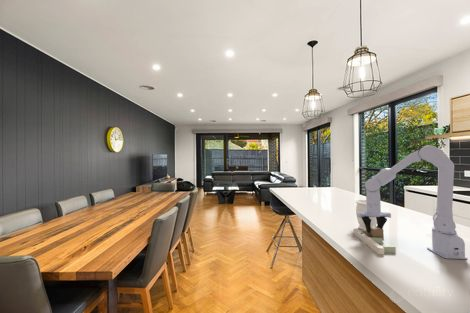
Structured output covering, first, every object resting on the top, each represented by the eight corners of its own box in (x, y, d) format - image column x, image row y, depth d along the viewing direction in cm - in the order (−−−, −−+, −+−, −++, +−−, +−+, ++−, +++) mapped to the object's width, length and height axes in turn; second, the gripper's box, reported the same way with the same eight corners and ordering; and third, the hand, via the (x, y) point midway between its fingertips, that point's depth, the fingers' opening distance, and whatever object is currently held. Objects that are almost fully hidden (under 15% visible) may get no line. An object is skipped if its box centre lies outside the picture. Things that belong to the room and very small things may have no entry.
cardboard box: (383, 240, 100) (383, 229, 100) (373, 240, 100) (372, 229, 101) (376, 235, 106) (375, 225, 107) (366, 235, 107) (366, 224, 107)
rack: (398, 255, 87) (398, 247, 87) (379, 254, 88) (378, 247, 88) (368, 233, 111) (368, 228, 111) (353, 233, 112) (353, 227, 112)
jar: (367, 233, 112) (366, 204, 112) (352, 227, 122) (351, 200, 122) (383, 230, 115) (382, 202, 115) (367, 225, 125) (366, 199, 125)
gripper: (384, 202, 107) (385, 229, 107) (353, 202, 109) (354, 229, 109) (393, 205, 100) (394, 234, 100) (360, 205, 102) (361, 234, 102)
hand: (374, 232), depth 104 cm, fingers closed on cardboard box, 4 cm apart
